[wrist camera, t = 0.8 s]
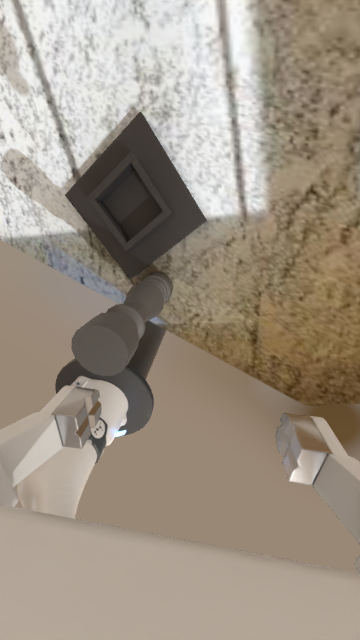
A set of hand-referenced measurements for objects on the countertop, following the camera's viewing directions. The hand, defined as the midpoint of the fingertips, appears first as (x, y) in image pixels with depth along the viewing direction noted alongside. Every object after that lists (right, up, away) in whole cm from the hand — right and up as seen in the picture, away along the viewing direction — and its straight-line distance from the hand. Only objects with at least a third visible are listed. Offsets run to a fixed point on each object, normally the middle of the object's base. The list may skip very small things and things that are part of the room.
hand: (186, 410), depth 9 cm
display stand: (-8, +24, +28) cm, 38 cm away
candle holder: (-5, +11, +33) cm, 35 cm away
